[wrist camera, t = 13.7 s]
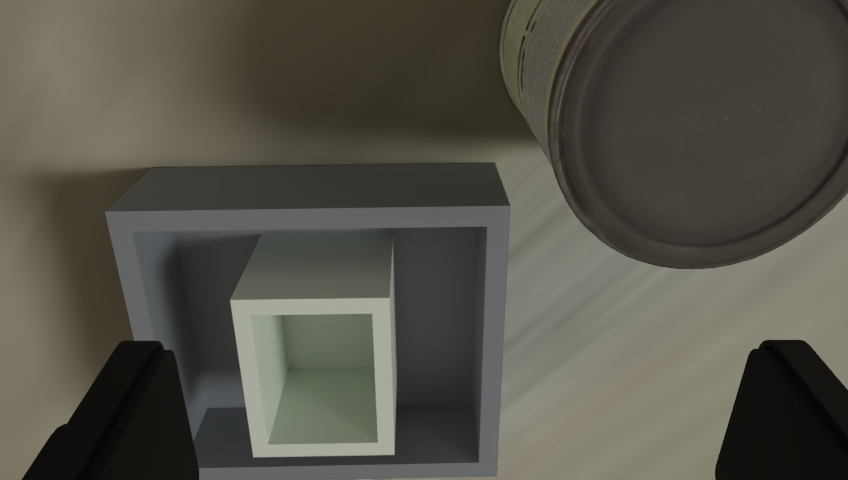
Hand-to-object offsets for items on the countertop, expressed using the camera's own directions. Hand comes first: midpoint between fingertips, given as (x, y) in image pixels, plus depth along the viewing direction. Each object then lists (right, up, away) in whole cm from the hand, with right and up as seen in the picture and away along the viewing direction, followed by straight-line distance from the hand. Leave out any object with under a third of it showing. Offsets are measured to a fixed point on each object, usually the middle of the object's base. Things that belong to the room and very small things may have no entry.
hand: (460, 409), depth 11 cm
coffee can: (+8, +12, +22) cm, 27 cm away
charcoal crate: (-6, -1, +28) cm, 28 cm away
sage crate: (-6, -1, +27) cm, 27 cm away
